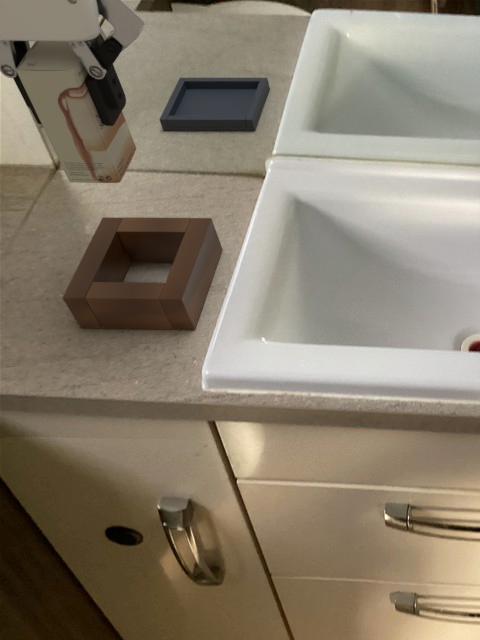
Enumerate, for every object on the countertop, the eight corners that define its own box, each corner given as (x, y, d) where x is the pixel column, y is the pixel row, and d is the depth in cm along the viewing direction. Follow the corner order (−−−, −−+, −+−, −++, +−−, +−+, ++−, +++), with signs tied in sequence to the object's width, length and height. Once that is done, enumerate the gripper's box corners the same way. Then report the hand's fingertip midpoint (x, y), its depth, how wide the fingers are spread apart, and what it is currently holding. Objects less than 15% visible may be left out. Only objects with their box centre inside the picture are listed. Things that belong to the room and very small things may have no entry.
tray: (163, 130, 90) (159, 119, 89) (183, 88, 96) (179, 77, 94) (255, 131, 90) (251, 119, 89) (270, 88, 95) (267, 77, 94)
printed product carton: (122, 185, 64) (71, 72, 56) (68, 184, 64) (10, 72, 56) (140, 145, 67) (95, 34, 59) (89, 145, 67) (38, 33, 60)
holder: (80, 328, 71) (61, 297, 68) (117, 248, 78) (102, 217, 75) (195, 329, 71) (181, 299, 68) (222, 249, 77) (211, 217, 74)
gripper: (122, -168, 50) (201, 89, 64) (-138, -169, 50) (-2, 86, 65) (80, -121, 45) (175, 146, 59) (-206, -123, 46) (-44, 142, 60)
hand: (82, 112), depth 62 cm, fingers closed on printed product carton, 4 cm apart
